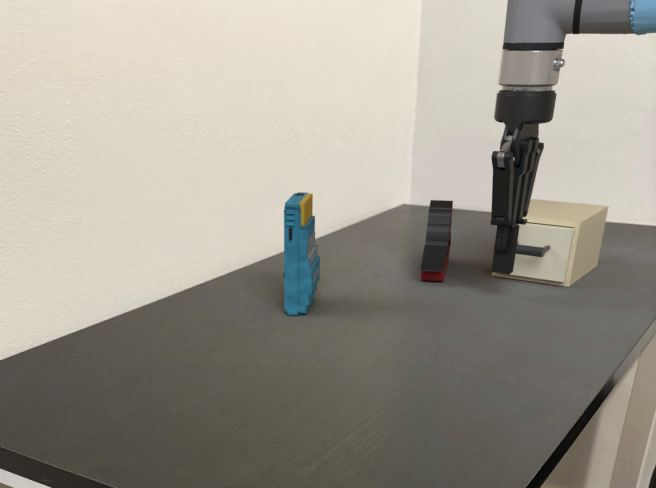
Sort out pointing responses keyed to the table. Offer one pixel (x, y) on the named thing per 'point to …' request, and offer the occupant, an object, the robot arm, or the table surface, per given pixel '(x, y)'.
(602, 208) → the cabinet
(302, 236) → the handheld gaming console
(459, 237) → the table surface
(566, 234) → the drawer
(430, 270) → the extruded letter emblem
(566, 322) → the table surface
